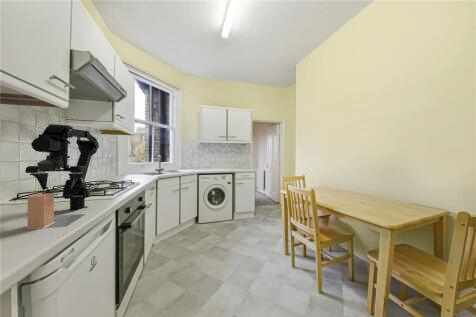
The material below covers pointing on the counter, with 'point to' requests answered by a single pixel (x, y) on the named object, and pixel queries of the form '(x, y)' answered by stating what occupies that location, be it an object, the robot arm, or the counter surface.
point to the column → (40, 210)
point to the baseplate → (62, 221)
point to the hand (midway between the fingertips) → (57, 189)
